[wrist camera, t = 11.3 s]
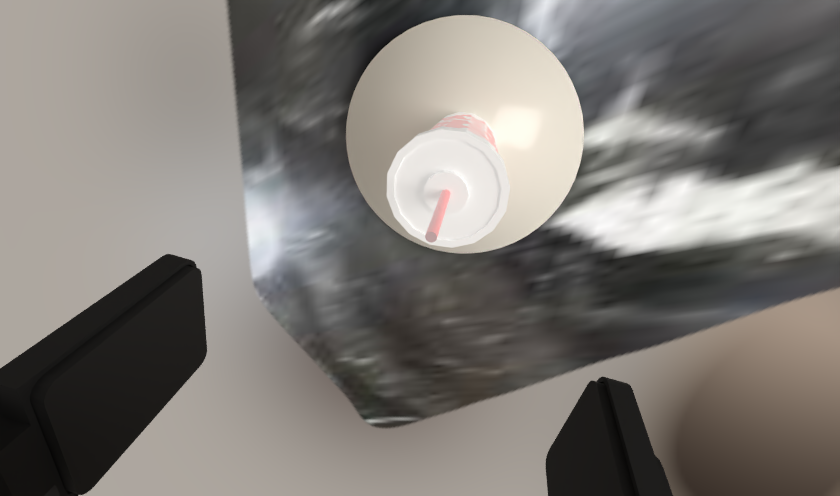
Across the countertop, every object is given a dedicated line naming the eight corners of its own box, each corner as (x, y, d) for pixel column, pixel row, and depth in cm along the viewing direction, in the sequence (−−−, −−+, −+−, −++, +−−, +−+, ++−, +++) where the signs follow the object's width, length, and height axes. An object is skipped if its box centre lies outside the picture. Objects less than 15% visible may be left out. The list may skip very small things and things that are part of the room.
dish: (368, -12, 26) (362, -14, 25) (622, 49, 25) (628, 50, 24) (339, 216, 34) (334, 222, 33) (533, 268, 33) (534, 276, 32)
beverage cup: (527, 141, 28) (547, 232, 15) (466, 206, 30) (442, 327, 18) (456, 78, 27) (416, 123, 14) (400, 152, 29) (326, 241, 17)
